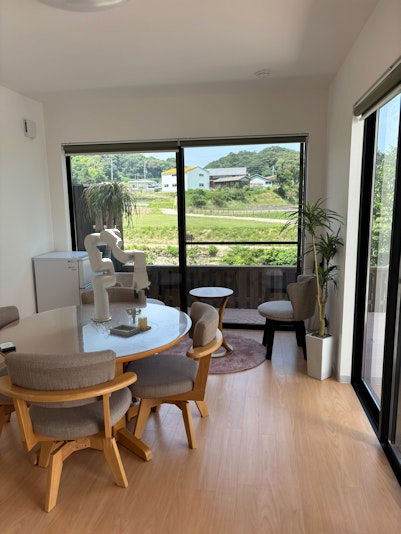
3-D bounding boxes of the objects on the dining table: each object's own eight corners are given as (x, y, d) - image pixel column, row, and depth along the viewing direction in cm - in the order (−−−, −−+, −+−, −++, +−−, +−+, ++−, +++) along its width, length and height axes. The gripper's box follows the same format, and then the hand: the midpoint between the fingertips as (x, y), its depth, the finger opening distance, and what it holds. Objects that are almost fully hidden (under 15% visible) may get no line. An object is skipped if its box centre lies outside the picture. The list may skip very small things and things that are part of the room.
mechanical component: (140, 324, 268) (140, 309, 266) (126, 323, 270) (125, 309, 268) (142, 323, 271) (141, 308, 269) (127, 322, 273) (127, 308, 271)
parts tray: (110, 333, 250) (109, 328, 250) (122, 328, 259) (122, 324, 259) (127, 337, 242) (127, 332, 242) (140, 332, 251) (139, 327, 251)
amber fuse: (138, 329, 256) (138, 317, 255) (142, 328, 260) (142, 316, 259) (143, 330, 254) (142, 318, 253) (147, 329, 258) (146, 316, 256)
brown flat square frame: (134, 329, 256) (134, 327, 256) (142, 326, 262) (142, 324, 262) (143, 331, 252) (143, 329, 252) (151, 328, 258) (151, 326, 258)
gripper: (144, 268, 261) (146, 294, 263) (126, 272, 246) (127, 299, 249) (153, 268, 257) (155, 295, 259) (135, 272, 242) (136, 300, 245)
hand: (141, 297), depth 254 cm, fingers open, 9 cm apart
